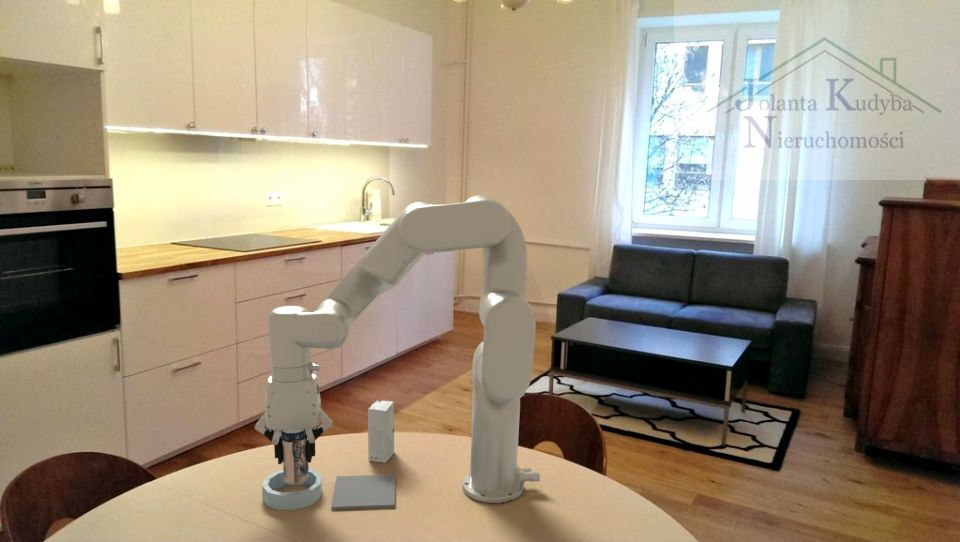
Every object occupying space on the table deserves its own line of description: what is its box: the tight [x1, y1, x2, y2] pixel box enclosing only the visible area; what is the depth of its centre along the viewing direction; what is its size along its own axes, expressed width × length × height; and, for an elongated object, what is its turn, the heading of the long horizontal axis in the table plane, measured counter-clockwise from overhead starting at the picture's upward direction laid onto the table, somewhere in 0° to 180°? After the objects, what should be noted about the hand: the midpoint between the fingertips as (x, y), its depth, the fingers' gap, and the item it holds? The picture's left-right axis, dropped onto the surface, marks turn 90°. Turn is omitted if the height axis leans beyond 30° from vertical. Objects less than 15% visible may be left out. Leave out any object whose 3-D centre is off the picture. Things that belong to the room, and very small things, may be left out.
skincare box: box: [367, 399, 395, 464], centre depth 147 cm, size 6×4×12 cm
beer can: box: [281, 429, 310, 486], centre depth 129 cm, size 5×5×12 cm
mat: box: [330, 474, 396, 511], centre depth 132 cm, size 12×12×1 cm
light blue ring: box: [261, 468, 323, 511], centre depth 130 cm, size 11×11×3 cm
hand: (295, 459), depth 129 cm, fingers closed on beer can, 4 cm apart
